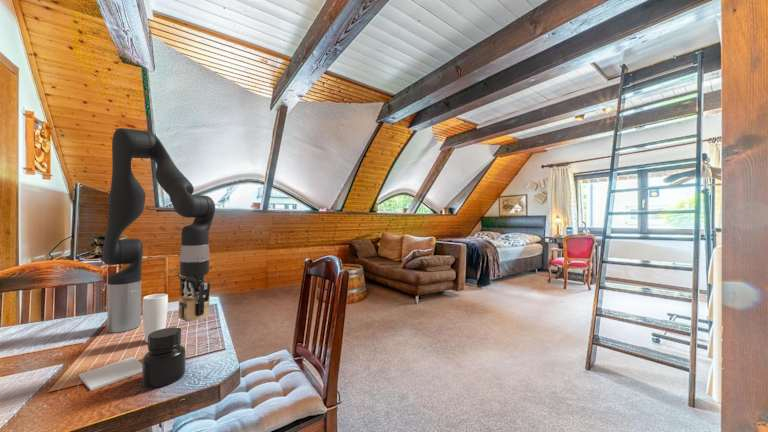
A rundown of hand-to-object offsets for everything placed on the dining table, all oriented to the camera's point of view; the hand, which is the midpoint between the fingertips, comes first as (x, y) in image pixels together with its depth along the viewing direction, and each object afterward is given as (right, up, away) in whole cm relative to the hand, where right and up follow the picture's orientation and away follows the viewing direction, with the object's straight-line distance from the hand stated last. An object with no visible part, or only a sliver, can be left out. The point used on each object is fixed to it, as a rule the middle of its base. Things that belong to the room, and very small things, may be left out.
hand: (194, 312), depth 87 cm
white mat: (-13, -12, -12) cm, 22 cm away
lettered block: (0, -1, 0) cm, 1 cm away
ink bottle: (+2, -12, -14) cm, 19 cm away
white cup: (-19, -12, +8) cm, 24 cm away
